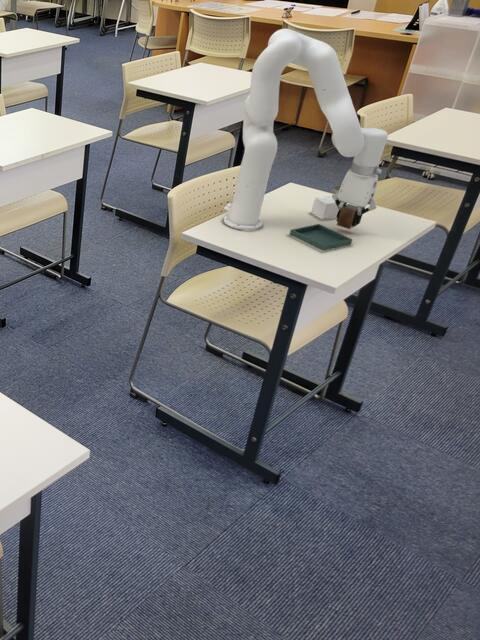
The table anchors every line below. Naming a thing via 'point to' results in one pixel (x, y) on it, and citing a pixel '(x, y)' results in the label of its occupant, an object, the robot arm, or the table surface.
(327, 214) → the white cube
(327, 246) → the tray
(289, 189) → the table surface
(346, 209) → the block
